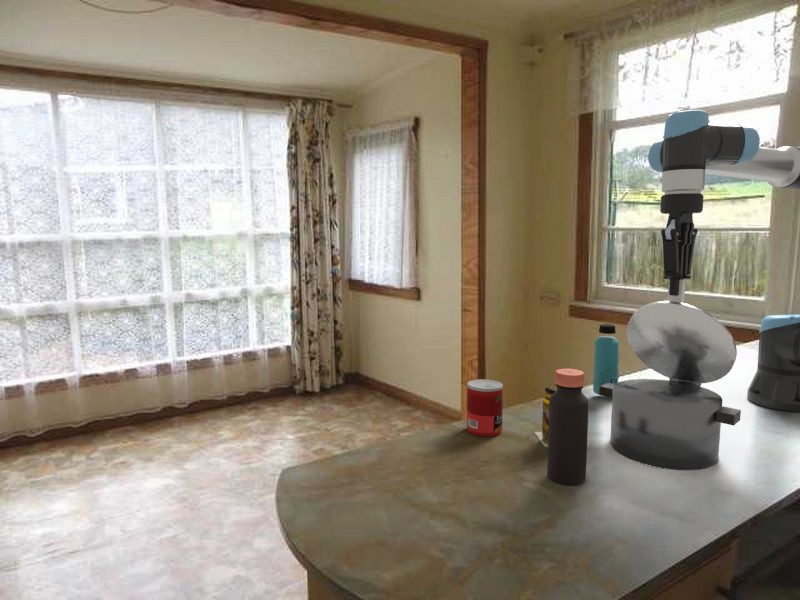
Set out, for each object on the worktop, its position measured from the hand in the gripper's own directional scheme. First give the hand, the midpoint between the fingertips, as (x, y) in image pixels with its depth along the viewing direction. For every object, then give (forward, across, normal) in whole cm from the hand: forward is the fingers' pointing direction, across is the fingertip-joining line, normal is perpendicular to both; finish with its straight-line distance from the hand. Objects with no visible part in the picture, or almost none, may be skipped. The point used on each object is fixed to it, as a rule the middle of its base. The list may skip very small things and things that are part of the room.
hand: (675, 311), depth 109 cm
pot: (+29, +3, 0) cm, 29 cm away
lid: (+8, -2, 0) cm, 8 cm away
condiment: (+29, +14, -18) cm, 37 cm away
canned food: (+29, +21, -32) cm, 48 cm away
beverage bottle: (+29, -21, -24) cm, 43 cm away
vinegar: (+29, +29, -7) cm, 41 cm away
